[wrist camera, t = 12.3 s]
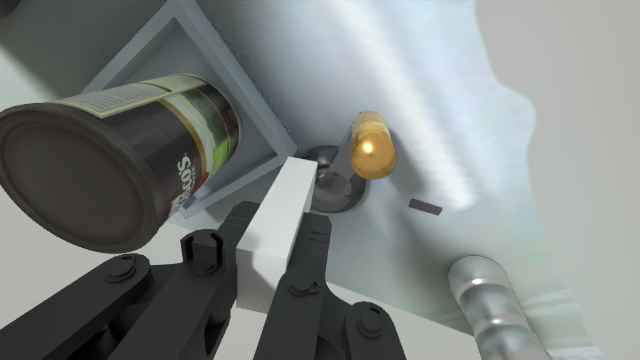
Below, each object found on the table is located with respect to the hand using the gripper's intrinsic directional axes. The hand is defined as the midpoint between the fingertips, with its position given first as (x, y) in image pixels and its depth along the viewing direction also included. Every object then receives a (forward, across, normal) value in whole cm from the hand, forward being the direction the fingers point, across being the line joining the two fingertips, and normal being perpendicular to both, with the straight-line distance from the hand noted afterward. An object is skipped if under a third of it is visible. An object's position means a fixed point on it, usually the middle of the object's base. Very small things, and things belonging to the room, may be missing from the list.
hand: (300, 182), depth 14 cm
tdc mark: (+15, +13, -9) cm, 22 cm away
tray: (+15, -14, -4) cm, 20 cm away
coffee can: (+14, -14, -4) cm, 20 cm away
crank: (+13, +3, -4) cm, 14 cm away
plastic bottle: (+15, +22, -16) cm, 31 cm away
